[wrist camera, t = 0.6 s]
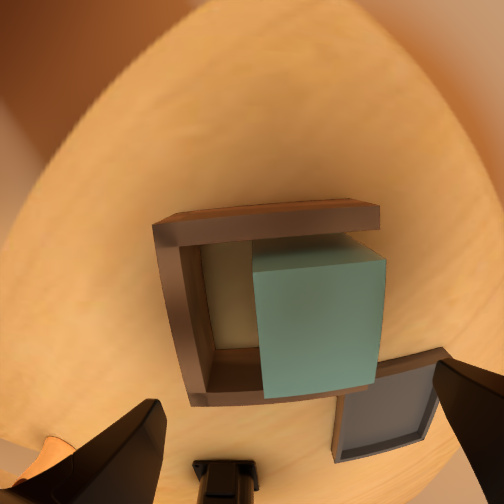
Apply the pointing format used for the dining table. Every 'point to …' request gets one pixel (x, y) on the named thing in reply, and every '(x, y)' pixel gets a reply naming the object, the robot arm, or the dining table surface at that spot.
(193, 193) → the dining table surface
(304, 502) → the dining table surface
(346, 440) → the gray tray
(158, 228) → the frame
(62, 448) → the beer glass
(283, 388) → the teal block
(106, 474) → the robot arm
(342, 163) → the dining table surface
